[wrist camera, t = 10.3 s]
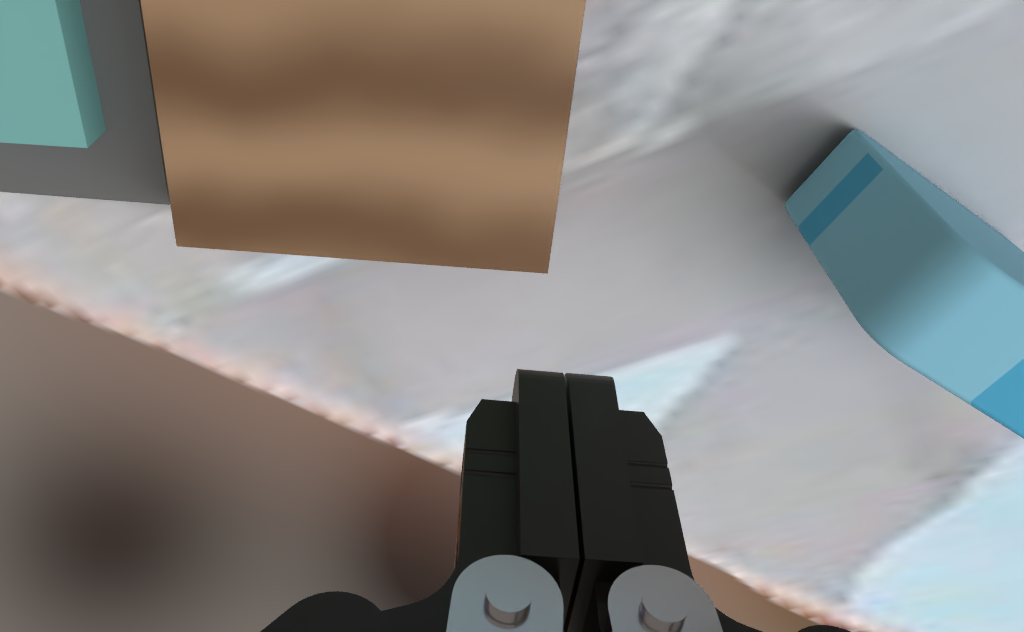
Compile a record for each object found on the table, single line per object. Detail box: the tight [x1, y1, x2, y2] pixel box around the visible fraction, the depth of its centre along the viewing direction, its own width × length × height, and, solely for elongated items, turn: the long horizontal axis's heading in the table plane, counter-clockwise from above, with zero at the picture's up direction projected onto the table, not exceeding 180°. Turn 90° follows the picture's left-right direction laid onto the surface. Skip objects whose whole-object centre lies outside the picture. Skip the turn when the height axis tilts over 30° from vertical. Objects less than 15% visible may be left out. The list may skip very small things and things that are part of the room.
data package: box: [785, 130, 1024, 438], centre depth 35 cm, size 12×4×12 cm, turn 57°
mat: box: [0, 0, 170, 205], centre depth 34 cm, size 16×10×1 cm, turn 175°
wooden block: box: [141, 0, 586, 273], centre depth 33 cm, size 16×16×4 cm
